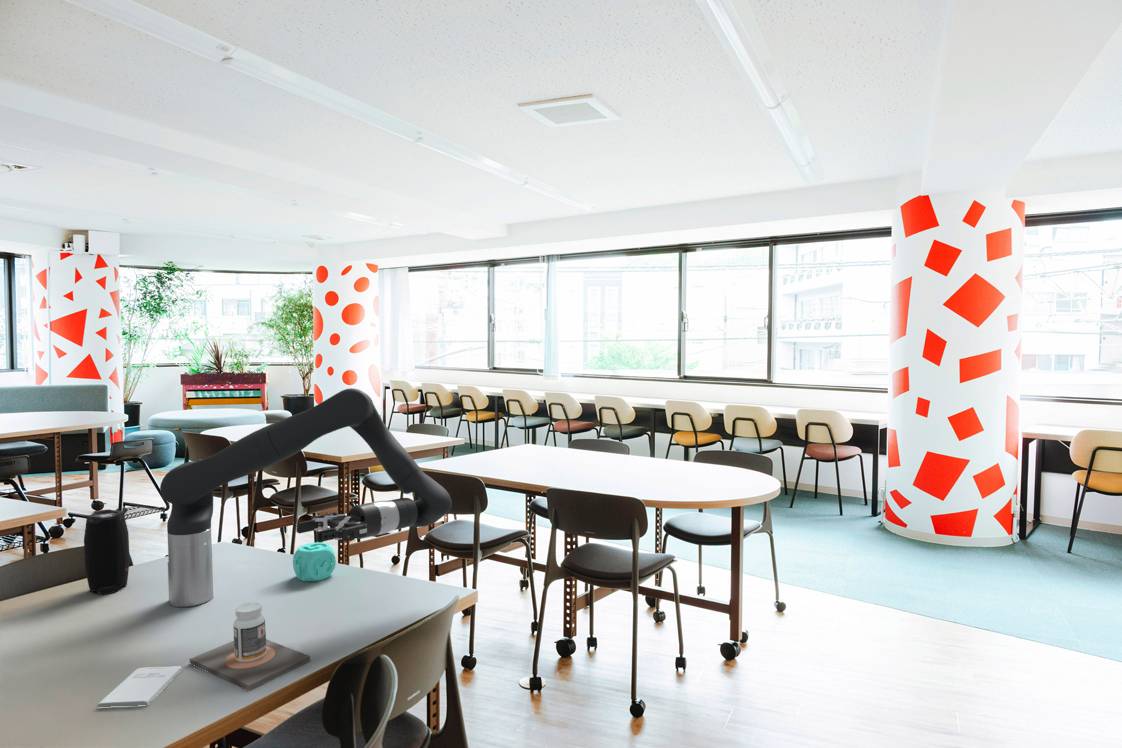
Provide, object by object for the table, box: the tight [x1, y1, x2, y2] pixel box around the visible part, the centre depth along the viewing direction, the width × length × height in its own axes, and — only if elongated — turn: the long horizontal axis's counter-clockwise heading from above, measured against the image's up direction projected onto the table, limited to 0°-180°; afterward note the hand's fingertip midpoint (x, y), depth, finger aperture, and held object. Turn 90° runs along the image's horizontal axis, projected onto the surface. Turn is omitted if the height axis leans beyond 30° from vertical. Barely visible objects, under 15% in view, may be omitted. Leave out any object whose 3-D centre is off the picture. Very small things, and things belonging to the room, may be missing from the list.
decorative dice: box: [292, 542, 337, 582], centre depth 177 cm, size 8×8×8 cm
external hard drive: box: [97, 665, 183, 708], centre depth 121 cm, size 2×8×12 cm
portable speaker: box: [83, 509, 131, 596], centre depth 168 cm, size 9×9×20 cm
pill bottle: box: [232, 602, 267, 662], centre depth 131 cm, size 6×6×10 cm
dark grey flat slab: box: [189, 638, 311, 691], centre depth 131 cm, size 19×13×1 cm
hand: (306, 532), depth 141 cm, fingers open, 8 cm apart
